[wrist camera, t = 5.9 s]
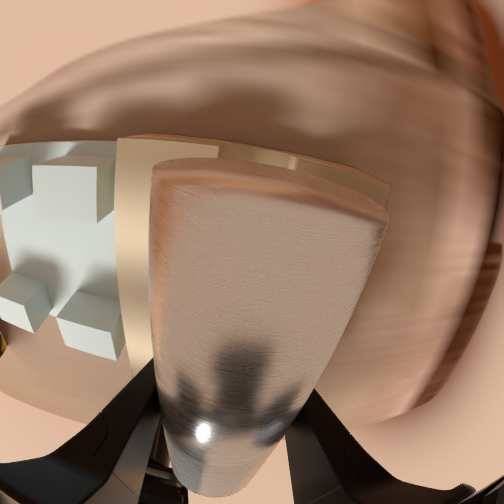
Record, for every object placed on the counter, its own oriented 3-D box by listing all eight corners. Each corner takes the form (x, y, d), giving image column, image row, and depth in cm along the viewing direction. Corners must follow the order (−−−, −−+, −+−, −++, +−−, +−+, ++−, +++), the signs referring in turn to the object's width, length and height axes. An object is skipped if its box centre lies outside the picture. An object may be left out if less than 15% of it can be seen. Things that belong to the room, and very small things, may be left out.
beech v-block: (293, 356, 20) (301, 398, 16) (147, 337, 18) (133, 378, 15) (356, 168, 13) (391, 185, 10) (150, 133, 12) (117, 137, 9)
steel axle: (252, 433, 13) (255, 499, 9) (176, 424, 13) (167, 491, 9) (342, 180, 7) (439, 248, 3) (182, 151, 7) (104, 191, 3)
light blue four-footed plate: (134, 330, 18) (118, 368, 15) (26, 299, 17) (4, 326, 14) (132, 141, 12) (97, 149, 9) (4, 144, 11) (-33, 156, 8)
